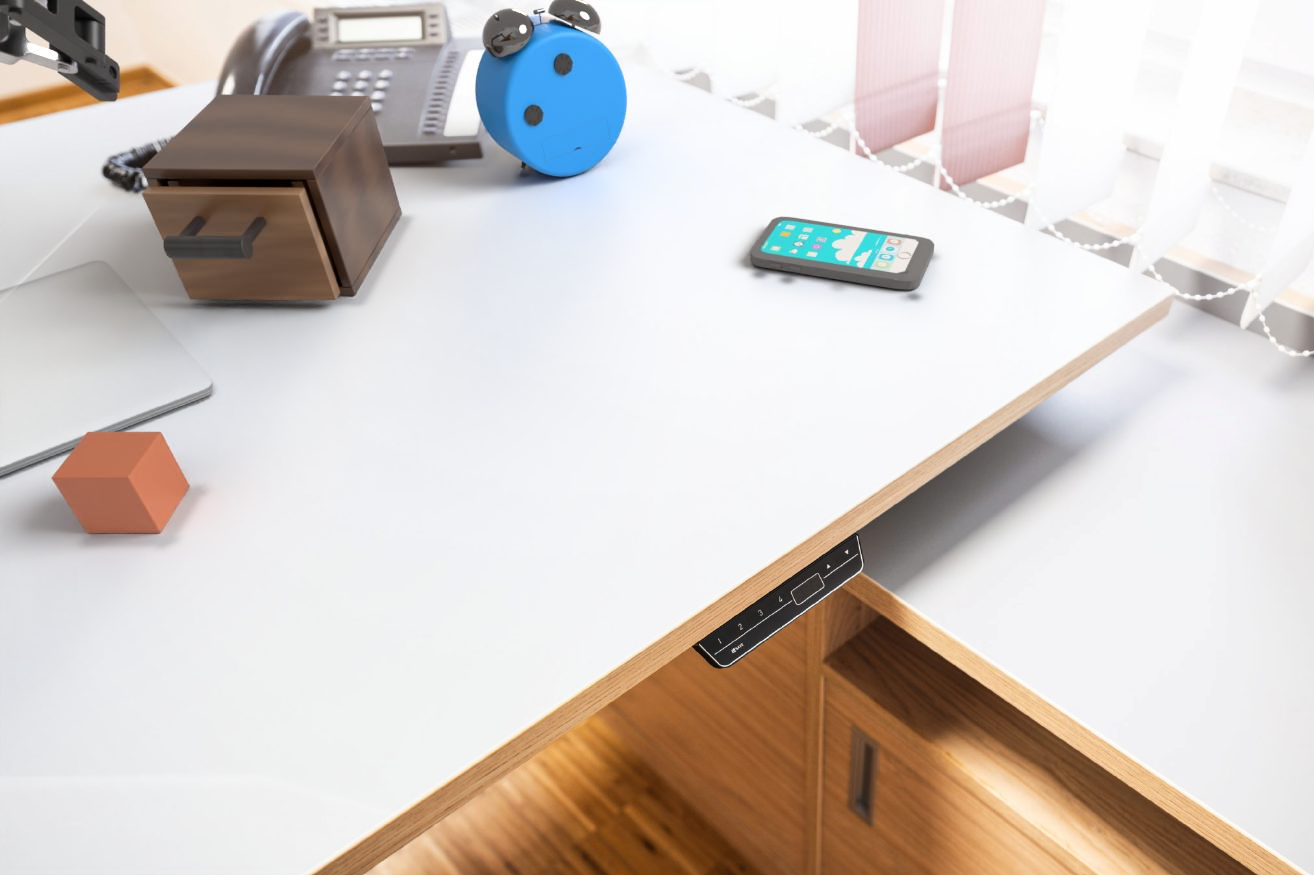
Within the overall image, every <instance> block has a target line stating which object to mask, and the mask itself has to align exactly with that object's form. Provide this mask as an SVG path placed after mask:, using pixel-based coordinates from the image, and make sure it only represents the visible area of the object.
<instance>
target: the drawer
mask: <svg viewBox="0 0 1314 875" xmlns="http://www.w3.org/2000/svg"><path fill="white" fill-rule="evenodd" d="M168 184H169V186H170V187H149V186H147V188H145V189H144V190H143V191H142V193H141V196H142V197H143V200H144V202H145V204H146V206H147V208H148V211H149V213H150V215H151V217H152V219H153V222H154V224H155V227H156V228H157V230H158V233H159V235H160V238H161V239H162V242H163V244H162V245H163V250H164V253H165V255H166V256H167V257H168V258H169V259H171V261H172V263H173V266H174V268H175V270H176V273H177V274H178V277H179V278H180V279H179V280H180V281H181V283H182V285H183V288H184V290H185V292H186V294H187V296H188V299H189V300H191V301H192V300H193V301H197V300H198V301H199V300H200V301H201V300H202V301H203V300H204V301H206V300H208V301H209V300H210V301H211V300H212V301H213V300H214V301H222V300H223V301H226V300H227V301H231V300H232V301H337V299H338V297H340V296H339V294H340V290H339V287H338V284H337V281H336V279H337V277H338V276H339V275H338V272H337V269H336V266H335V263H334V260H333V257H332V254H331V251H330V248H329V245H328V242H327V239H326V236H325V233H324V230H323V227H322V224H321V221H320V219H319V216H318V213H317V210H316V207H315V204H314V201H313V198H312V195H311V192H310V189H309V186H308V183H307V180H280V179H169V180H168Z"/></svg>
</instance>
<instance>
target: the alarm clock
mask: <svg viewBox="0 0 1314 875" xmlns="http://www.w3.org/2000/svg"><path fill="white" fill-rule="evenodd" d="M532 12H533V15H532V16H531V15H530V16H529V15H528V14H527V13H526V12H524V11H523V10H521V9H518V8H513V7H512V8H511V7H510V8H508V7H507V8H503V9H500V10H498V11H495V13H492V15H491V16H490V17H489V18H488V19H487V20H486V22H485V24H484V26H483V29H482V34H481V38H482V39H481V40H482V45H483V47H484V51H483V53H482V55H481V57H480V59H479V63H478V66H477V70H476V75H475V84H474V92H475V93H474V94H475V103H476V108H477V111H478V115H479V117H480V120H481V123H482V124H483V126H484V128H485V130H486V132H487V133H488V134H489V136H490V137H491V139H492V140H493V141H494V142H495V143H496V144H497V145H498V146H500V148H502V149H503V150H504V151H506V152H507V153H509V154H511V155H512V156H513V157H514V158H516V159H518V160H520V161H521V162H520V164H521V165H520V169H521V170H525V169H526V166H529V167H531V168H532V169H534V170H535V171H537V172H539V173H540V174H541V173H542V174H545V175H548V176H552V177H573V176H576V175H580V174H582V173H584V172H587V171H589V170H591V169H592V168H593V167H595V166H596V165H598V164H599V163H600V162H601V161H602V160H603V159H605V157H607V155H608V154H609V153H610V152H611V151H612V149H613V147H614V146H615V144H616V143H617V141H618V139H619V137H620V136H621V133H622V130H623V127H624V124H625V120H626V116H627V107H628V94H627V85H626V80H625V76H624V74H623V70H622V68H621V66H620V63H619V62H618V60H617V58H616V56H615V55H614V54H613V53H612V51H611V50H610V49H609V48H608V47H607V46H606V45H605V44H604V43H603V42H602V41H600V40H599V39H597V37H594V36H592V35H591V34H590V33H593V34H596V35H601V33H602V27H603V26H602V20H601V18H600V15H599V14H598V11H596V9H595V8H594V7H593V6H592V5H591V4H590V3H588V2H586V1H584V0H553V1H551V3H550V4H549V6H548V9H547V14H549V15H551V16H553V17H551V16H546V15H541V14H544V13H546V9H545V8H544V7H543V8H542V7H541V8H538V9H533V11H532ZM579 28H580V29H579ZM581 29H583V30H585V31H588V32H590V33H587V32H585V31H583V30H581Z"/></svg>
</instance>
